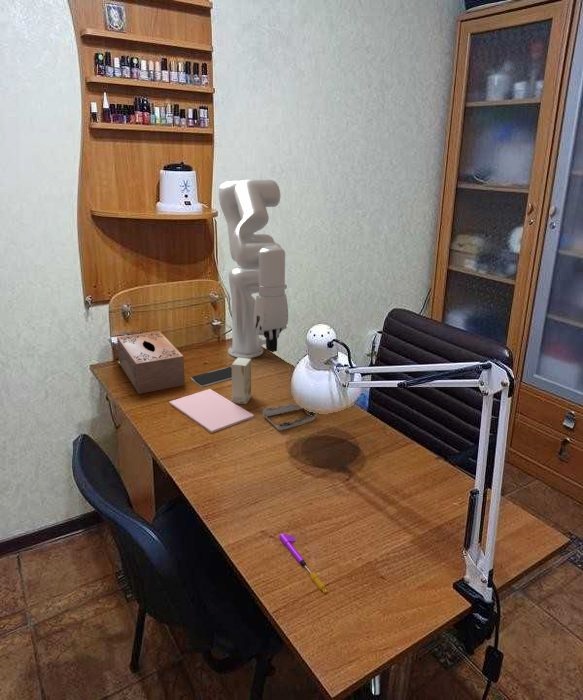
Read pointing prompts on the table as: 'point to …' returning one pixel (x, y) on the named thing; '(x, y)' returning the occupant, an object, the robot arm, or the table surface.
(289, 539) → the purple and yellow tool
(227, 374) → the smartphone
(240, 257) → the robot arm
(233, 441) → the table surface
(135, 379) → the tissue box cover
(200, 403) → the nail mat
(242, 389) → the skincare box
